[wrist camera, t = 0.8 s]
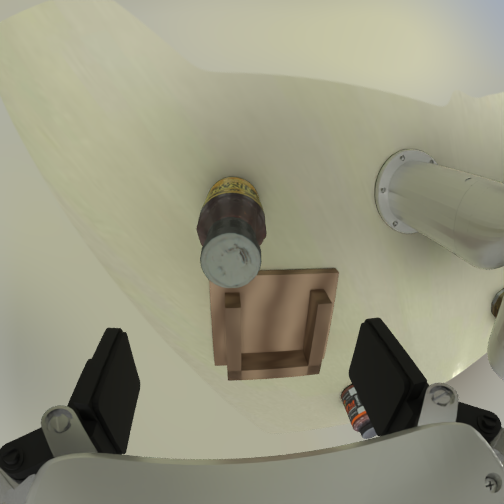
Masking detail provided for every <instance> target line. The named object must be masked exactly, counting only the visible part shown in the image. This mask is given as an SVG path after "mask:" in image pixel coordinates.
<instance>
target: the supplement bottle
mask: <svg viewBox="0 0 504 504" xmlns="http://www.w3.org/2000/svg"><path fill="white" fill-rule="evenodd" d="M341 399H342V402H343V404H344V407H345V409H346V412H347V414H348V417H349V419H350V422H351V424H352V426H353V429H354V430H355V431H358V432H360V433H361V435H362V437H363V438H364V439H367V438H372V437H374V436H376V435H377V434H376V432H375V430H374V428H373V426H372V423H371V421H370V419H369V417H368V415H367V413H366V411H365V409H364V407H363V405H362V402H361V400H360V398H359V396H358V394H357V392H356V390H355V388H354V386H353V385H351V386H349V387H347V388H346V389H345V390H344V391H343V393H342V395H341Z"/></svg>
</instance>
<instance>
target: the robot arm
mask: <svg viewBox="0 0 504 504" xmlns="http://www.w3.org/2000/svg"><path fill="white" fill-rule="evenodd" d="M381 188H382V189H381ZM375 199H376V205H377V208H378V211H379V214H380V216H381V217H382V219H383V221H384V222H385V223H386V224H387V225H388V226H390V227H391V228H392V229H394V230H396V231H398V232H401V233H405V234H412V233H416V232H420V233H421V234H423V235H425V236H426V237H428V238H430V239H431V240H433V241H435V242H436V243H438V244H439V245H441V246H443V247H444V248H446V249H447V250H449V251H450V252H452V253H454V254H455V255H457V256H458V257H460V258H461V259H463V260H465V261H466V262H468V263H469V264H471V265H472V266H474V267H477V268H479V269H485V270H490V269H496V268H499V267H502V266H504V183H501V182H498V181H495V180H491V179H488V178H484V177H481V176H478V175H474V174H471V173H467V172H463V171H459V170H456V169H452V168H448V167H444V166H440V165H438V164H437V162H436V161H435V160H434V159H433V158H432V157H431V156H430V155H429V154H427V153H425V152H423V151H420V150H415V149H406V150H402V151H399V152H397V153H396V154H394V155H392V156H391V157H390V158H389V159H388V160H387V161H386V163H385V164H384V165H383V167H382V169H381V171H380V173H379V175H378V179H377V182H376V189H375ZM487 352H488V360H489V363H490V365H491V367H492V369H493V371H494V372H495V373H496V374H497V375H498V376H499V377H500V378H501V379H502V380H504V296H503V300H502V303H501V306H500V309H499V312H498V315H497V317H496V320H495V323H494V326H493V329H492V332H491V335H490V338H489V342H488V350H487ZM349 377H350V380H351V382H352V384H353V386H354V388H355V390H356V392H357V394H358V396H359V398H360V400H361V402H362V405H363V407H364V409H365V411H366V413H367V415H368V417H369V419H370V421H371V423H372V426H373V428H374V430H375V432H376V434H377V435H378V436H380V437H376V438H372V439H368V440H365V441H360V442H356V443H351V444H347V445H342V446H338V447H332V448H326V449H321V450H314V451H309V452H302V453H294V454H287V455H278V456H268V457H256V458H242V459H208V460H207V459H203V460H202V459H196V460H195V459H169V458H152V457H140V456H129V455H122V454H125V453H126V449H127V445H128V440H129V435H130V430H131V426H132V421H133V416H134V412H135V408H136V403H137V399H138V395H139V391H140V380H139V376H138V373H137V370H136V366H135V363H134V359H133V355H132V352H131V348H130V344H129V340H128V336H127V333H126V332H123V331H122V329H121V328H107V329H106V331H105V332H104V335H103V336H102V339H101V341H100V343H99V345H98V347H97V349H96V351H95V353H94V355H93V357H92V359H89V360H88V361H87V363H86V365H85V367H84V369H83V371H82V374H81V376H80V378H79V380H78V382H77V385H76V387H75V389H74V392H73V394H72V396H71V398H70V401H69V403H68V406H61V405H59V406H55V407H52V408H50V409H48V410H47V411H46V412H45V413H44V414H43V416H42V419H41V428H39V429H37V430H35V431H33V432H31V433H29V434H26V435H24V436H22V437H20V438H18V439H16V440H13V441H11V442H9V443H7V444H5V445H4V446H2V448H1V449H0V504H504V428H502V427H501V422H500V420H499V418H498V417H497V415H495V414H494V413H492V412H490V411H487V410H484V409H480V408H477V407H474V406H471V405H468V404H464V403H461V402H458V394H457V392H456V391H455V390H454V388H452V387H451V386H449V385H447V384H445V383H434V384H432V385H430V386H429V385H428V383H427V380H426V378H425V377H424V375H423V374H422V373H421V371H420V370H419V369H418V367H417V366H416V365H415V363H414V362H413V360H412V359H411V358H410V356H409V355H408V354H407V352H406V351H405V350H404V348H403V347H402V346H401V344H400V343H399V342H398V340H397V339H396V338H395V337H394V335H393V334H392V333H391V331H390V330H389V329H388V327H387V326H386V325H385V324H384V322H383V321H382V320H381V319H380V318H371V319H366V320H365V322H364V323H362V324H361V327H360V331H359V335H358V339H357V343H356V347H355V350H354V354H353V358H352V361H351V365H350V369H349Z"/></svg>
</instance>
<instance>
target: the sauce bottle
mask: <svg viewBox="0 0 504 504" xmlns="http://www.w3.org/2000/svg"><path fill="white" fill-rule="evenodd" d="M197 233H198V236H199V240H200V242H201V244H202V246H203V247H202V251H201V258H200V261H201V267H202V270H203V272H204V274H205V275H206V277H207V278H208V279H209V280H210V281H211V282H213V283H214V284H216V285H218V286H220V287H224V288H239V287H242V286H244V285H246V284H248V283H249V282H250V281H251V280H253V279H254V277H255V276H256V275H257V274H258V272H259V269H260V266H261V250H260V245H261V244H262V242H263V239H264V238H265V237H266V226H265V215H264V211H263V208H262V205H261V203H260V200H259V197H258V194H257V192H256V190H255V188H254V187H253V186H252V185H251V184H250V183H249V182H248V181H246V180H244V179H241V178H237V177H228V178H224V179H222V180H220V181H218V182H217V183H216V184H215V185H214V186H213V187H212V188H211V190H210V192H209V194H208V196H207V198H206V201H205V203H204V205H203V207H202V210H201V213H200V217H199V221H198V225H197Z"/></svg>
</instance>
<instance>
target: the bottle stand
mask: <svg viewBox="0 0 504 504" xmlns="http://www.w3.org/2000/svg"><path fill="white" fill-rule="evenodd" d="M338 276H339V272H338V271H337V270H336V268H331V269H302V270H267V271H259V272H258V274H257V275H256V276H255V277H254V279H253V280H251V281H250V282H249V283H248V284H246V285H244V286H242V287H239V288H224V287H220V286H218V285H216V284H214V283H213V282H211V281H210V280H209V282H210V301H211V318H212V333H213V347H214V361H215V366H218V365H227V370H228V380H253V379H269V378H283V377H294V376H304V375H313V374H319V372H320V367H321V362H322V359H324V356H325V351H326V346H327V341H328V335H329V330H330V325H331V319H332V313H333V307H334V301H335V295H336V289H337V282H338Z"/></svg>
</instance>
